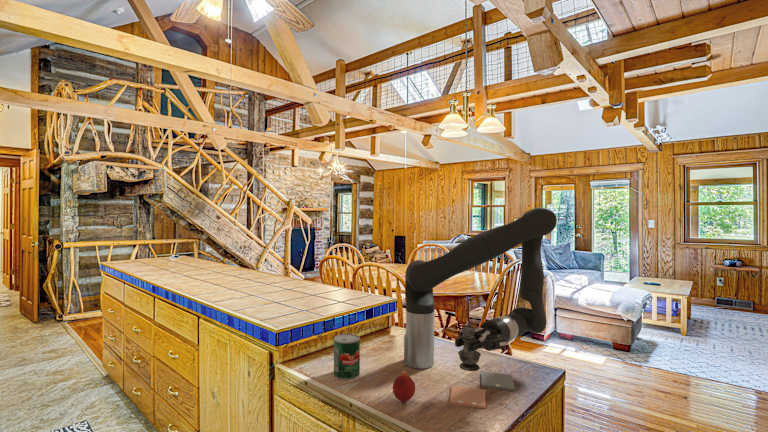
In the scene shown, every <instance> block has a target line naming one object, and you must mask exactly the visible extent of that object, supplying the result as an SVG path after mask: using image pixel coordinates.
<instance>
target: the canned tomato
mask: <svg viewBox="0 0 768 432" xmlns="http://www.w3.org/2000/svg"><path fill="white" fill-rule="evenodd" d="M360 343H361V337H360V336H359V335H357V334H351V333H342V334H339V335H335V336H334V338H333V377H334V378H336V379H339V380H344V381H346V380H347V381H348V380H353V379H354V380H355V379H357V378H358V377H359V376H360V374H361V373H360V372H361V370H360V369H361V367H360V366H361V365H360V363H361V362H360V359H361V358H360V357H361V355H360V354H361V351H360V350H361V344H360Z"/></svg>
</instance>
